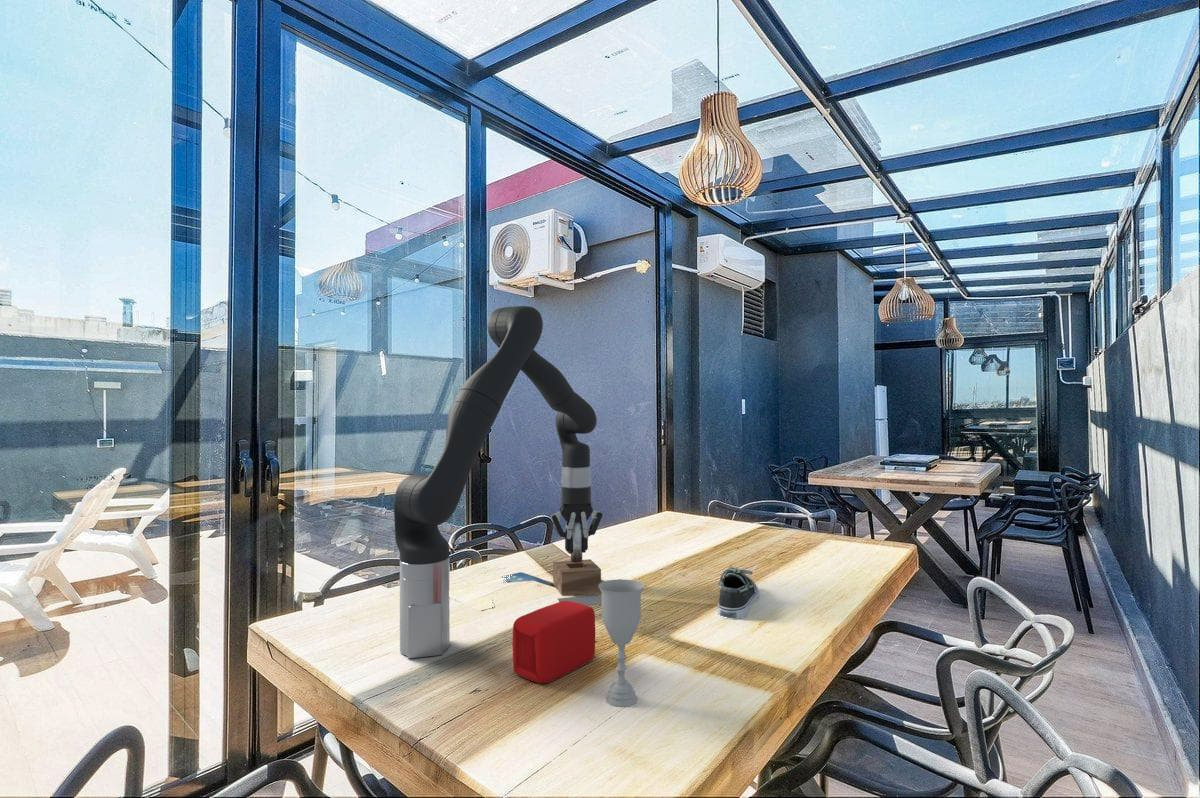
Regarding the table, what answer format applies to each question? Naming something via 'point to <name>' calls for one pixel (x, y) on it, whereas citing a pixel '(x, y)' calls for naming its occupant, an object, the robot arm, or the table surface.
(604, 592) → the chalice
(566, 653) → the decorative item
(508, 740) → the table surface
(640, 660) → the table surface
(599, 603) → the mat
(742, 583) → the boat shoe
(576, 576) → the socket block
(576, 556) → the pin
